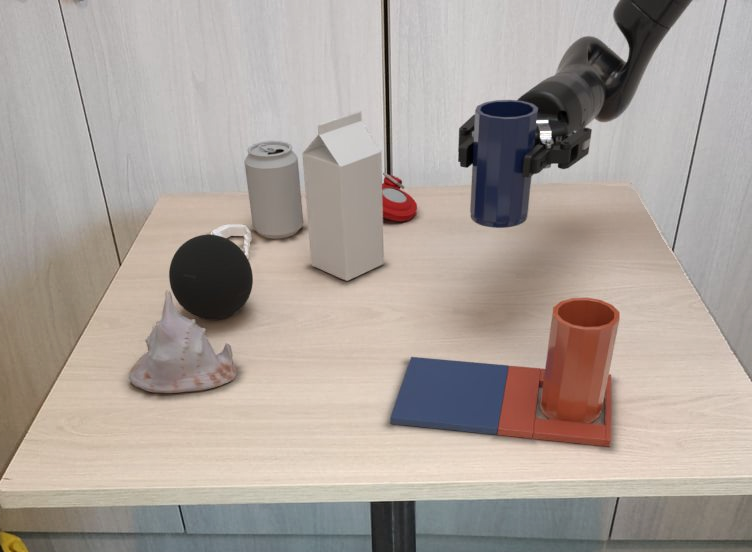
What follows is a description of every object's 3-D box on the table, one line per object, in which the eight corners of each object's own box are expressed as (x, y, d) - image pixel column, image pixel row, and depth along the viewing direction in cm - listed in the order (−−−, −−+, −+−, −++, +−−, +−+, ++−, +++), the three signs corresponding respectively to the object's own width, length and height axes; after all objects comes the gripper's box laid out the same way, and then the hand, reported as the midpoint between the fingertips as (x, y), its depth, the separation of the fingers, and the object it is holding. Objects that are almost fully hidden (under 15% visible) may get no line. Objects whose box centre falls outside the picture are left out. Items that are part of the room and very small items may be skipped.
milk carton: (384, 264, 111) (381, 116, 98) (346, 282, 107) (338, 131, 95) (348, 250, 115) (341, 105, 102) (311, 266, 111) (298, 119, 98)
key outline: (268, 263, 112) (266, 251, 111) (233, 270, 111) (231, 258, 110) (241, 228, 121) (240, 217, 120) (209, 235, 120) (207, 223, 119)
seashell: (146, 347, 96) (128, 274, 90) (245, 347, 96) (234, 273, 89) (122, 395, 89) (100, 318, 83) (229, 396, 88) (216, 319, 82)
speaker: (181, 340, 97) (165, 262, 91) (174, 303, 105) (158, 227, 98) (263, 327, 99) (253, 249, 92) (250, 291, 106) (240, 216, 100)
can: (284, 244, 117) (275, 159, 109) (243, 234, 120) (231, 150, 112) (313, 225, 121) (307, 142, 113) (273, 216, 124) (264, 134, 116)
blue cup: (529, 206, 90) (540, 100, 83) (524, 229, 86) (535, 119, 79) (474, 203, 92) (479, 98, 84) (466, 226, 87) (471, 117, 80)
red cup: (601, 394, 86) (619, 299, 79) (600, 429, 82) (619, 332, 74) (542, 388, 87) (554, 294, 80) (538, 422, 83) (551, 326, 75)
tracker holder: (429, 211, 121) (368, 206, 117) (419, 237, 124) (359, 233, 120) (404, 166, 127) (345, 160, 124) (395, 192, 131) (338, 186, 127)
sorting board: (609, 380, 88) (611, 374, 88) (609, 446, 79) (611, 440, 79) (411, 362, 92) (411, 356, 92) (390, 424, 83) (390, 417, 83)
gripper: (496, 73, 94) (432, 115, 83) (618, 87, 88) (566, 133, 78) (491, 141, 99) (430, 188, 88) (607, 158, 93) (557, 210, 83)
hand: (494, 162), depth 83 cm, fingers closed on blue cup, 6 cm apart
